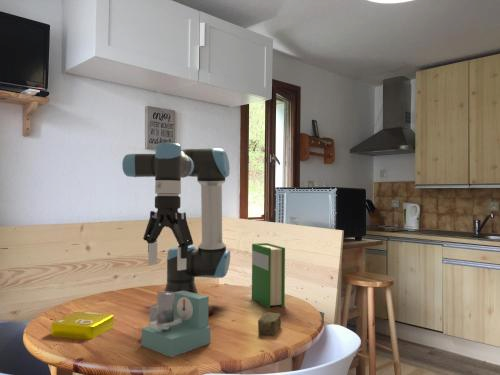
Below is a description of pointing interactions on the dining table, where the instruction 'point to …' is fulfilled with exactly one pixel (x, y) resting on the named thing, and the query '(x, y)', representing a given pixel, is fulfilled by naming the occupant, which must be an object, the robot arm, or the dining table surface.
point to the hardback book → (268, 274)
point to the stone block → (269, 323)
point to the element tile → (82, 325)
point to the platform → (165, 324)
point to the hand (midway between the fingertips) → (166, 267)
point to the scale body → (182, 327)
